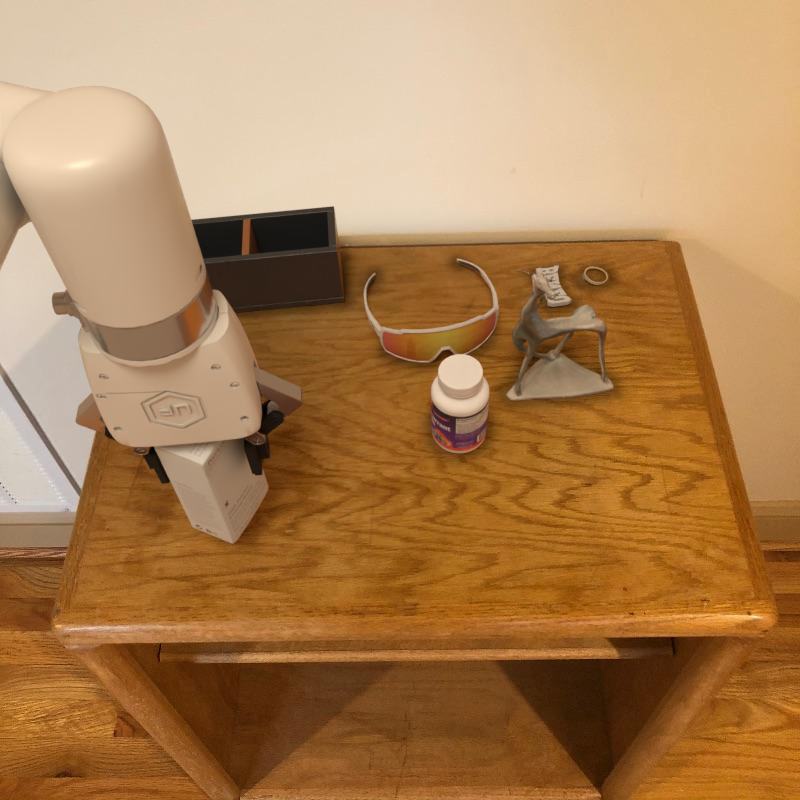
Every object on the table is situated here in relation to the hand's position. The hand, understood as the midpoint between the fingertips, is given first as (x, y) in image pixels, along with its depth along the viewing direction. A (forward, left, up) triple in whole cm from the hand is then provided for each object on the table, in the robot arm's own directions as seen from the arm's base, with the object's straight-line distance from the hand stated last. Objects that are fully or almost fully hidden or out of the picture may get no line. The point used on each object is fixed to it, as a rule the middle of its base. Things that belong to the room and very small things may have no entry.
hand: (213, 462), depth 60 cm
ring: (+39, +28, -13) cm, 50 cm away
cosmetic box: (0, 0, -7) cm, 7 cm away
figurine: (+32, +15, -14) cm, 38 cm away
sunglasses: (+20, +25, -14) cm, 35 cm away
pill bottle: (+21, +9, -14) cm, 26 cm away
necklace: (+33, +27, -13) cm, 45 cm away
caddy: (+1, +32, -13) cm, 35 cm away
